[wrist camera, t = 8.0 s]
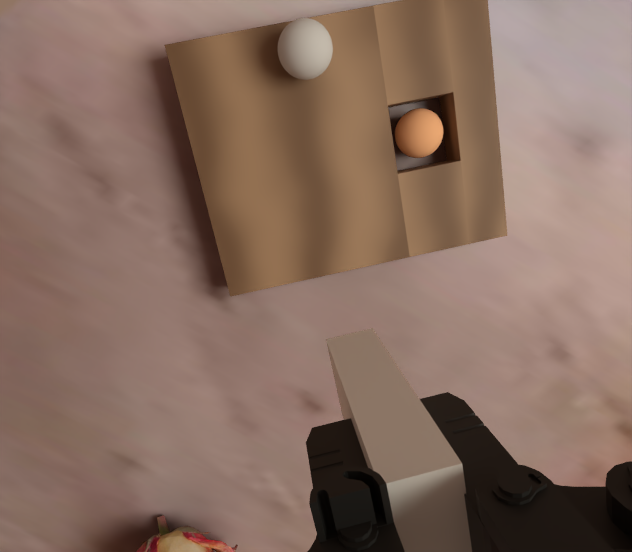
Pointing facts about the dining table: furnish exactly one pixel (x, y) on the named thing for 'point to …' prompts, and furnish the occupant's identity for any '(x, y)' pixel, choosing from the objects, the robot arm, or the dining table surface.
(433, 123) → the ball
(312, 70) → the grey ball
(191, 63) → the board
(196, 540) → the flower
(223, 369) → the dining table surface
